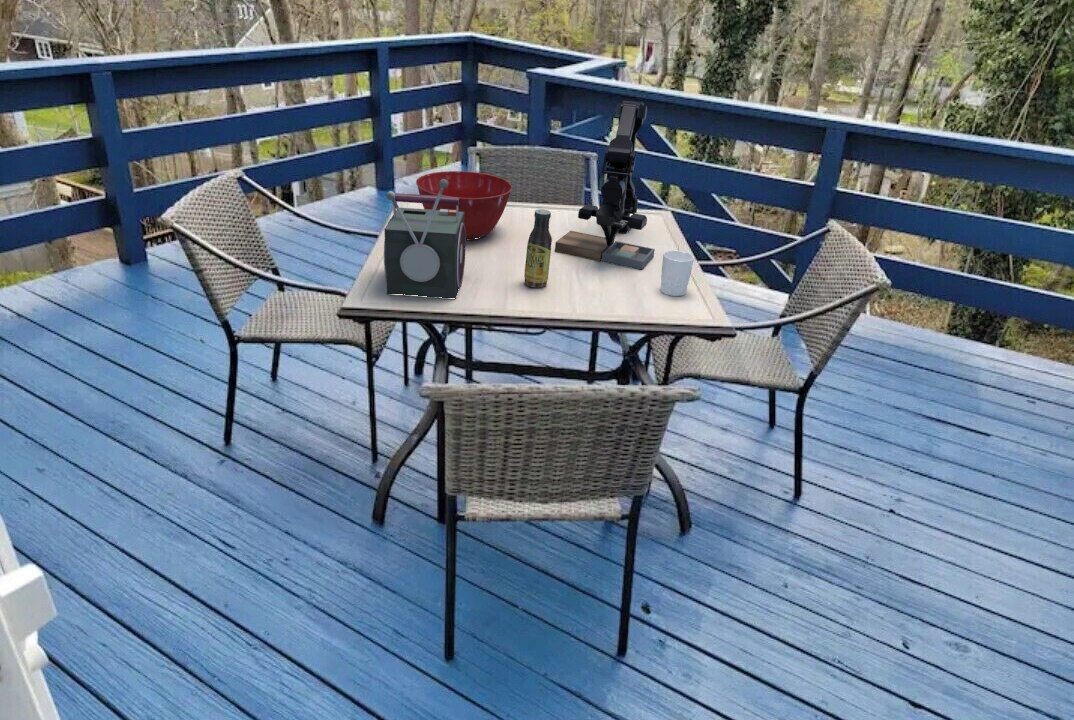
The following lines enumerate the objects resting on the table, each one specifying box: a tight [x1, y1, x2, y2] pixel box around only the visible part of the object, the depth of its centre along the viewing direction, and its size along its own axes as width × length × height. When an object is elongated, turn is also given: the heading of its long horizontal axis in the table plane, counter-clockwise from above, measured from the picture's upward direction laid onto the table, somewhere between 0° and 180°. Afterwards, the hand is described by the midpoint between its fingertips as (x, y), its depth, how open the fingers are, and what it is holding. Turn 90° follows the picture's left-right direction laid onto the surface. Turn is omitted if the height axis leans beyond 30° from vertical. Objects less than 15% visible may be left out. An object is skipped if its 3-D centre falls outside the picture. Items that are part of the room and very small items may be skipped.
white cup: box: [659, 249, 695, 297], centre depth 196 cm, size 8×8×10 cm
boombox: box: [383, 179, 467, 300], centre depth 186 cm, size 18×21×30 cm
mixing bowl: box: [415, 170, 513, 241], centre depth 225 cm, size 28×28×16 cm
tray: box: [601, 240, 656, 271], centre depth 217 cm, size 12×12×2 cm
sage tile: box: [615, 250, 636, 259], centre depth 214 cm, size 4×4×2 cm
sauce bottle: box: [524, 208, 553, 289], centre depth 192 cm, size 6×6×20 cm
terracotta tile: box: [620, 245, 639, 257], centre depth 218 cm, size 4×4×2 cm
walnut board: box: [554, 230, 615, 262], centre depth 221 cm, size 12×14×3 cm
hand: (609, 245), depth 215 cm, fingers closed
